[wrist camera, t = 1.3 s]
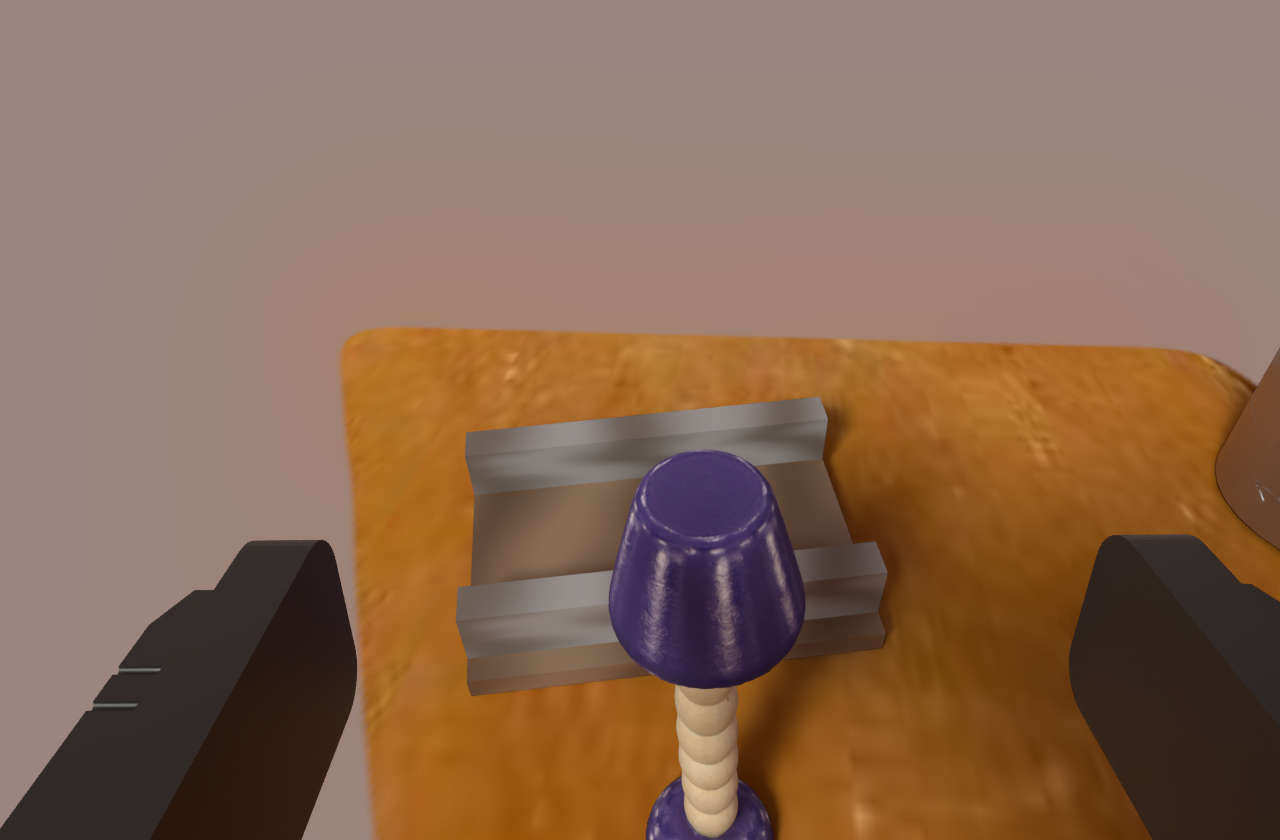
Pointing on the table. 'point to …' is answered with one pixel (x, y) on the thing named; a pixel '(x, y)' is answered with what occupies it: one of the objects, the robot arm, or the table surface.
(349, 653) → the robot arm
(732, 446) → the track board
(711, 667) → the toy lamp
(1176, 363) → the table surface
